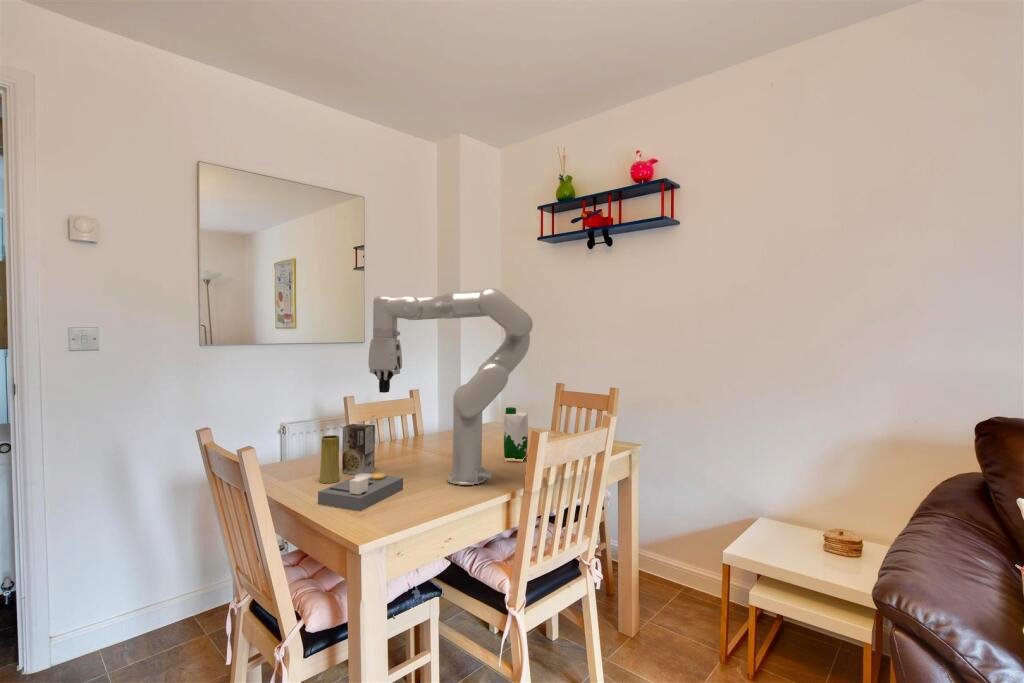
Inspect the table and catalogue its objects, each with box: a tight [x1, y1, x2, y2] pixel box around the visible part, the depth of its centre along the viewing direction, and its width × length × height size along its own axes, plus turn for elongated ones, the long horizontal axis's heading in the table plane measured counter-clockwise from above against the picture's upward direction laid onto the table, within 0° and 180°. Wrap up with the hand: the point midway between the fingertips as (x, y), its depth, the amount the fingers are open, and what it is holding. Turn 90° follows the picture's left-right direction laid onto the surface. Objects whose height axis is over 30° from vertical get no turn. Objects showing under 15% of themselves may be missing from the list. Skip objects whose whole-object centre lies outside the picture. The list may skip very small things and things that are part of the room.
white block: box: [350, 477, 368, 495], centre depth 137 cm, size 3×4×6 cm
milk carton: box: [503, 406, 529, 459], centre depth 192 cm, size 9×9×20 cm
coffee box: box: [341, 423, 376, 476], centre depth 170 cm, size 9×6×16 cm
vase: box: [319, 434, 340, 484], centre depth 159 cm, size 6×6×14 cm
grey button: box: [353, 473, 372, 486], centre depth 145 cm, size 5×5×3 cm
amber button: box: [371, 472, 386, 481], centre depth 152 cm, size 5×5×3 cm
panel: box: [317, 473, 404, 512], centre depth 145 cm, size 14×21×4 cm, turn 160°
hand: (384, 392), depth 159 cm, fingers closed
